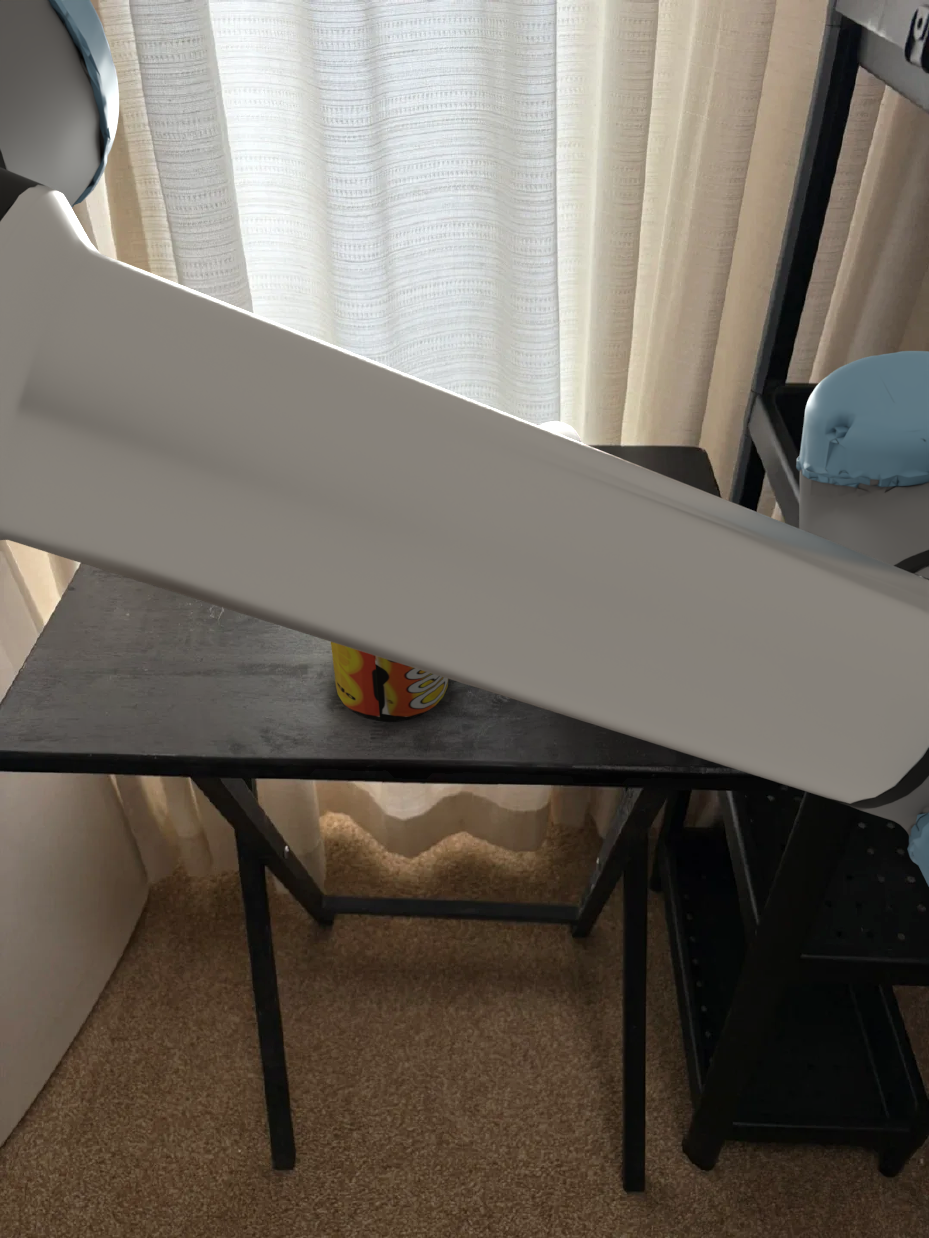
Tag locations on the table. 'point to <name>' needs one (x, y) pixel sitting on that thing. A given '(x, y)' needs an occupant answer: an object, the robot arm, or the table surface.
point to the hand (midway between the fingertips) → (401, 513)
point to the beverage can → (383, 686)
